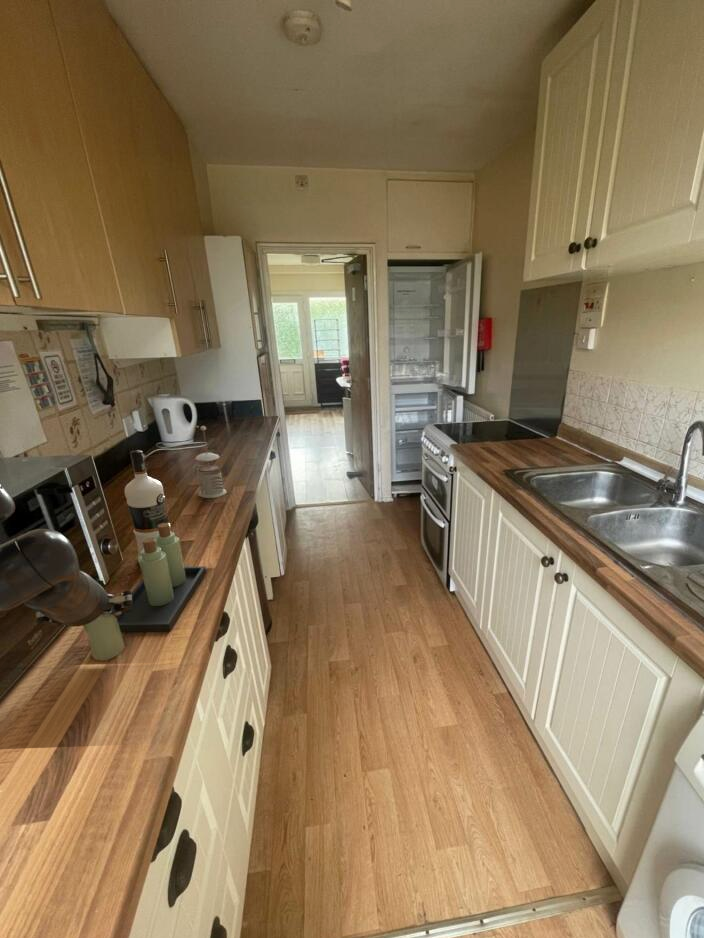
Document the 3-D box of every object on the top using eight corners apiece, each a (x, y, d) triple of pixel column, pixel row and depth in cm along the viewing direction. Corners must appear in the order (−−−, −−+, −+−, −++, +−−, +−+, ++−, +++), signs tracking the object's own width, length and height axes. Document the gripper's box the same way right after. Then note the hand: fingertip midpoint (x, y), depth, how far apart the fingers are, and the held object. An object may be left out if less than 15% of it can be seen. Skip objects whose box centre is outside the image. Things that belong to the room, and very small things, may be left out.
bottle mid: (144, 606, 94) (129, 545, 88) (154, 592, 98) (141, 534, 92) (168, 605, 94) (156, 545, 88) (177, 592, 99) (166, 534, 93)
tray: (106, 635, 86) (103, 625, 85) (154, 575, 106) (153, 566, 105) (170, 633, 86) (168, 624, 86) (206, 574, 107) (205, 566, 106)
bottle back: (158, 587, 100) (146, 529, 95) (167, 575, 105) (156, 520, 99) (181, 586, 101) (170, 529, 95) (189, 575, 106) (179, 520, 100)
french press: (232, 491, 161) (224, 425, 151) (208, 501, 151) (198, 431, 141) (212, 486, 165) (203, 422, 155) (188, 496, 155) (176, 428, 145)
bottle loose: (87, 662, 79) (65, 594, 73) (102, 643, 83) (83, 577, 77) (116, 662, 79) (97, 594, 73) (130, 643, 84) (113, 577, 78)
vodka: (157, 551, 118) (134, 444, 106) (186, 556, 115) (166, 447, 104) (130, 567, 109) (103, 453, 97) (161, 573, 107) (137, 457, 95)
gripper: (123, 565, 69) (143, 589, 84) (12, 582, 64) (55, 605, 78) (126, 610, 67) (147, 627, 81) (12, 633, 61) (56, 646, 76)
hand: (102, 616), depth 80 cm, fingers closed on bottle loose, 5 cm apart
